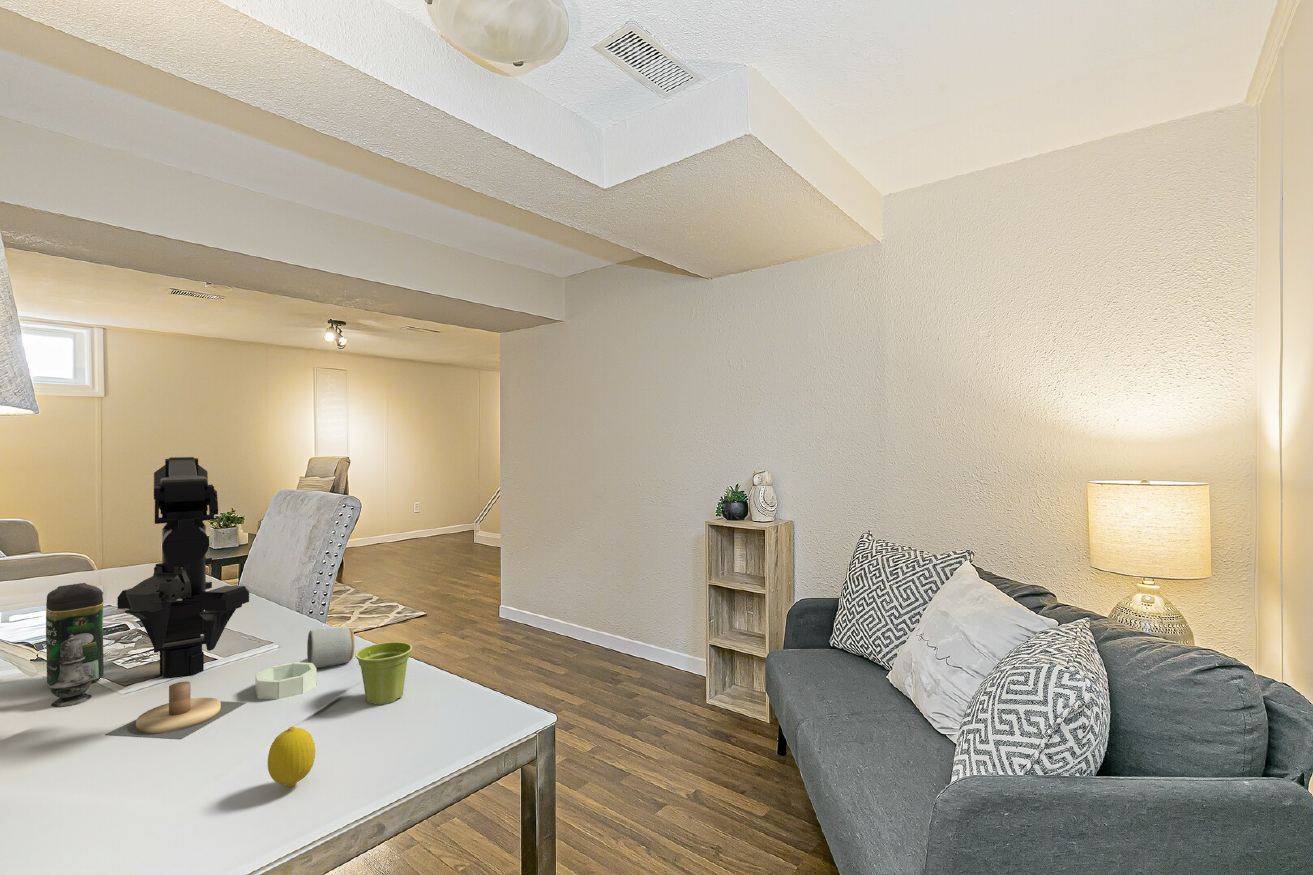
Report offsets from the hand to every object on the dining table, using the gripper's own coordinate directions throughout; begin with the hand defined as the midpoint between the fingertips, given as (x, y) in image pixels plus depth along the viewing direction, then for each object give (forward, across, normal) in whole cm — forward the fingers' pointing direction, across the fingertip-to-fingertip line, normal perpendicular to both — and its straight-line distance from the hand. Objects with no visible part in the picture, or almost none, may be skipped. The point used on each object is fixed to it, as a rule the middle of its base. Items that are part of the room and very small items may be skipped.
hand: (184, 649), depth 102 cm
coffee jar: (+12, -36, +14) cm, 40 cm away
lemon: (+12, +30, -16) cm, 36 cm away
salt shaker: (+12, -27, +6) cm, 31 cm away
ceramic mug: (+12, +7, +28) cm, 31 cm away
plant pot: (+12, +28, +12) cm, 33 cm away
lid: (+11, 0, 0) cm, 11 cm away
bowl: (+12, +9, +12) cm, 19 cm away
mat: (+12, 0, 0) cm, 12 cm away
